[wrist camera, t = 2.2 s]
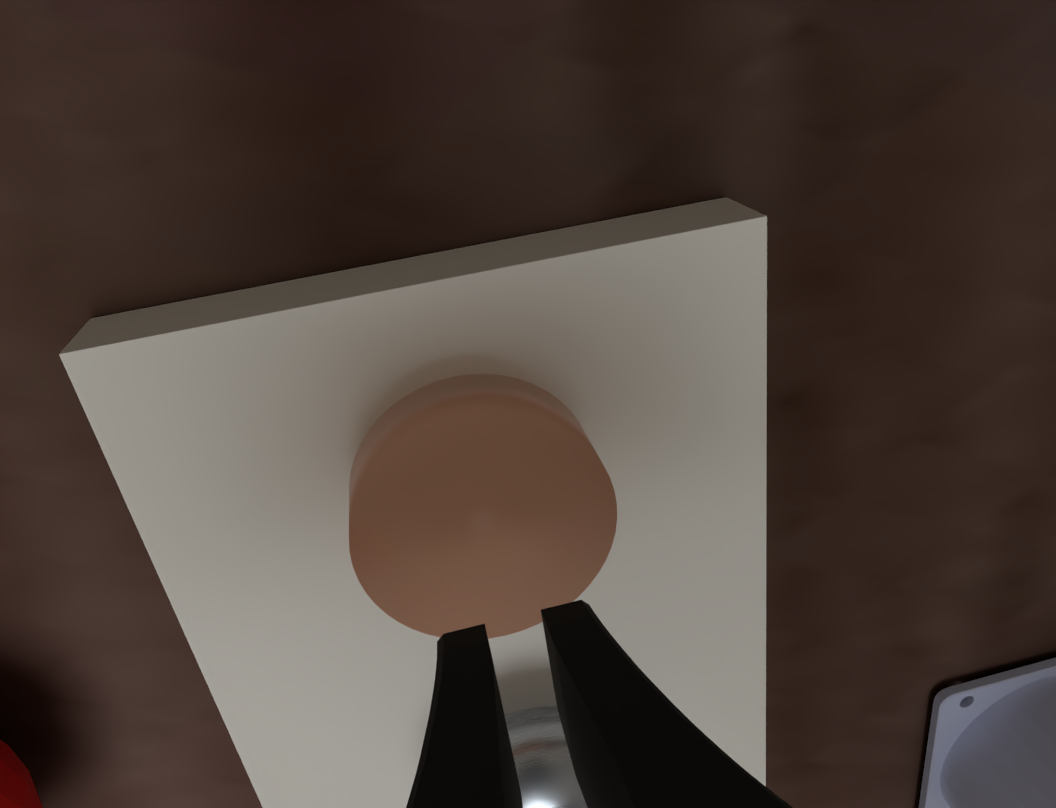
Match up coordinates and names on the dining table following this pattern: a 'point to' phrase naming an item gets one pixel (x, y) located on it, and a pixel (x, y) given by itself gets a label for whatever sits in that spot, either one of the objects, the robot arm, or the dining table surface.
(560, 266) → the control panel
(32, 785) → the tomato
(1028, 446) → the dining table surface
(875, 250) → the dining table surface
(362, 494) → the terracotta button
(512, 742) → the grey button
